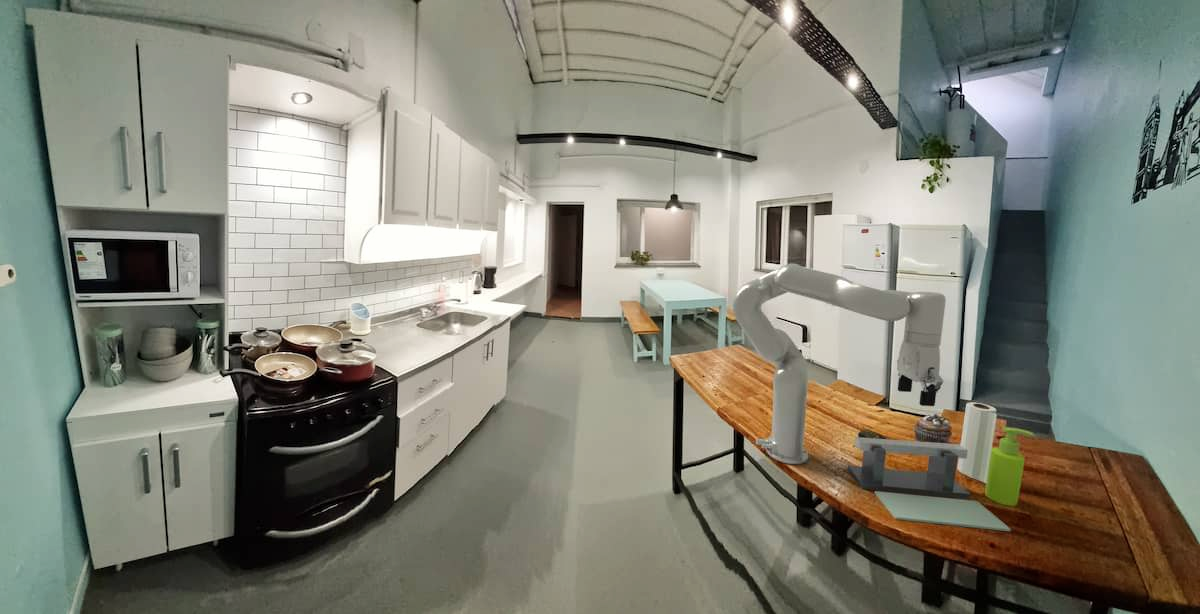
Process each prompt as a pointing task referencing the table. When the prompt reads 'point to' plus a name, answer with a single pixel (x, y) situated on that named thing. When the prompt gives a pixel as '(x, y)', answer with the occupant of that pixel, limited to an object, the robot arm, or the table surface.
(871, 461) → the rack
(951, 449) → the rail
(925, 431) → the cupcake
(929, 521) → the mat
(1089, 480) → the table surface
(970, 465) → the paper towel roll
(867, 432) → the tape measure
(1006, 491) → the soap dispenser
